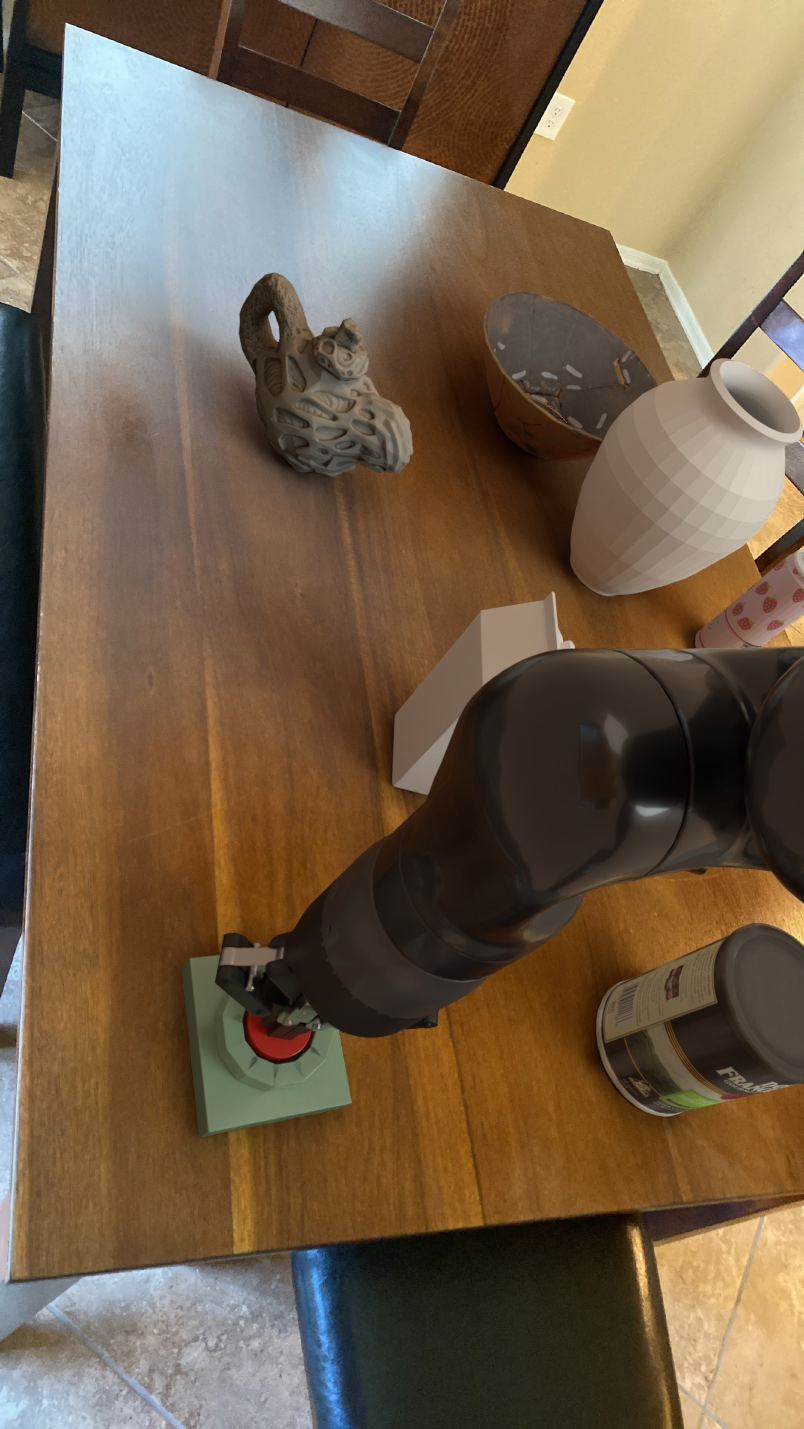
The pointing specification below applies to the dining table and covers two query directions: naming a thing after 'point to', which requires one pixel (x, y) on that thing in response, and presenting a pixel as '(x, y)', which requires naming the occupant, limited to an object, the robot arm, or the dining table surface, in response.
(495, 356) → the bowl
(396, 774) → the milk carton
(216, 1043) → the button block
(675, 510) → the vase
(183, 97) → the dining table surface
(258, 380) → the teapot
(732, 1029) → the coffee can
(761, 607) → the beverage can
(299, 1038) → the button
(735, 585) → the dining table surface
